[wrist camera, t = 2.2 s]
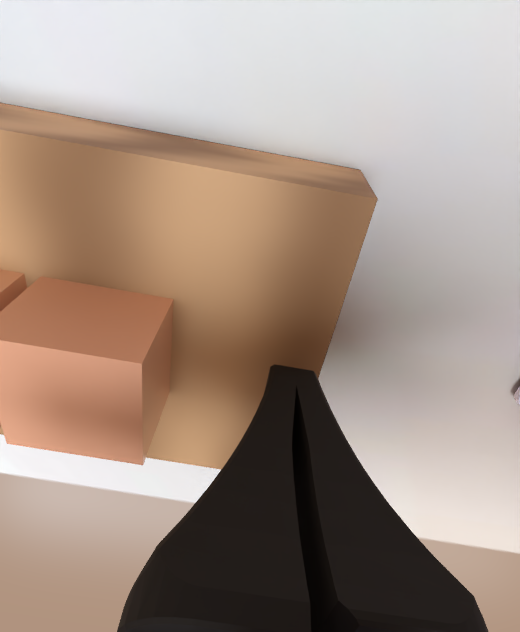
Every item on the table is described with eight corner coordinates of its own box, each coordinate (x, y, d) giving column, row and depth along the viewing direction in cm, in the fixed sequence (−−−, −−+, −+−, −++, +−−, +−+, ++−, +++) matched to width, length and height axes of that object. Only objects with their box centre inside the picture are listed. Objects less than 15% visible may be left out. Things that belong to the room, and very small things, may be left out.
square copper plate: (360, 169, 12) (378, 198, 10) (285, 423, 19) (284, 479, 16) (-92, 86, 12) (-195, 93, 9) (-6, 376, 18) (-53, 426, 16)
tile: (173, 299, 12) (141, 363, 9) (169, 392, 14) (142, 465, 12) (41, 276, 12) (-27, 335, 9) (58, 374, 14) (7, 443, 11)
